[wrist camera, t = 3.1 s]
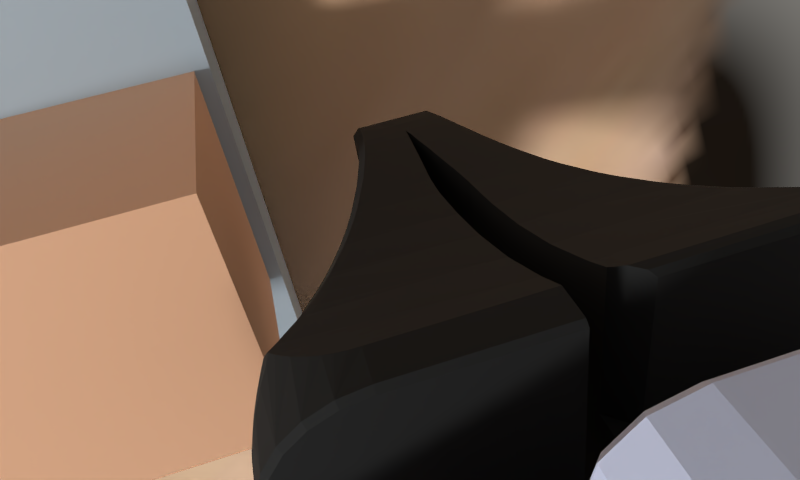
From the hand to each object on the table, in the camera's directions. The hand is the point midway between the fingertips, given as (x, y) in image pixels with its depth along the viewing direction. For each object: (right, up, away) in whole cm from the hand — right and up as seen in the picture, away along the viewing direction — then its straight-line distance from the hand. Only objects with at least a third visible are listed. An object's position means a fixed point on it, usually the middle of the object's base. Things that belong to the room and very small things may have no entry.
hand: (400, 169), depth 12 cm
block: (-5, -1, 0) cm, 5 cm away
